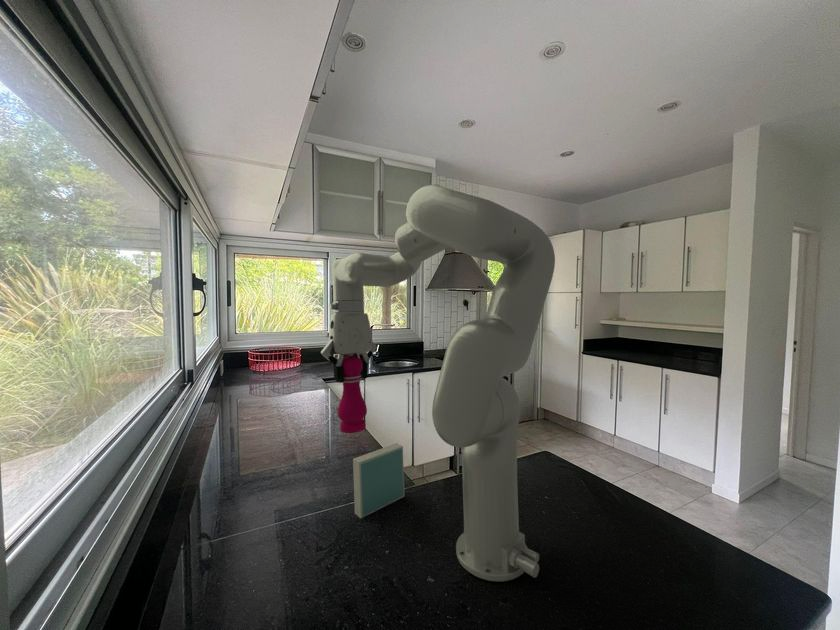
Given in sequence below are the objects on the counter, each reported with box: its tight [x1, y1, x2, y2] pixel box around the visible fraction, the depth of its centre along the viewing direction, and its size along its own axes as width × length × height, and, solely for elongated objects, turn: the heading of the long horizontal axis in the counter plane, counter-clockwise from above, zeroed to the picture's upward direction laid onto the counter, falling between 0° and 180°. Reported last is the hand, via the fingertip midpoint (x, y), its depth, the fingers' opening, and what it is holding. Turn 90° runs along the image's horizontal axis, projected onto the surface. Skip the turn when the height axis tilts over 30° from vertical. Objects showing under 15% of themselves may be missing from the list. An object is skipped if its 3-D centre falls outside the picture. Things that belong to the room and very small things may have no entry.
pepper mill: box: [337, 354, 368, 434], centre depth 83 cm, size 7×7×20 cm
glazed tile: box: [352, 443, 405, 519], centre depth 75 cm, size 3×12×12 cm, turn 132°
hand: (351, 379), depth 83 cm, fingers closed on pepper mill, 6 cm apart
